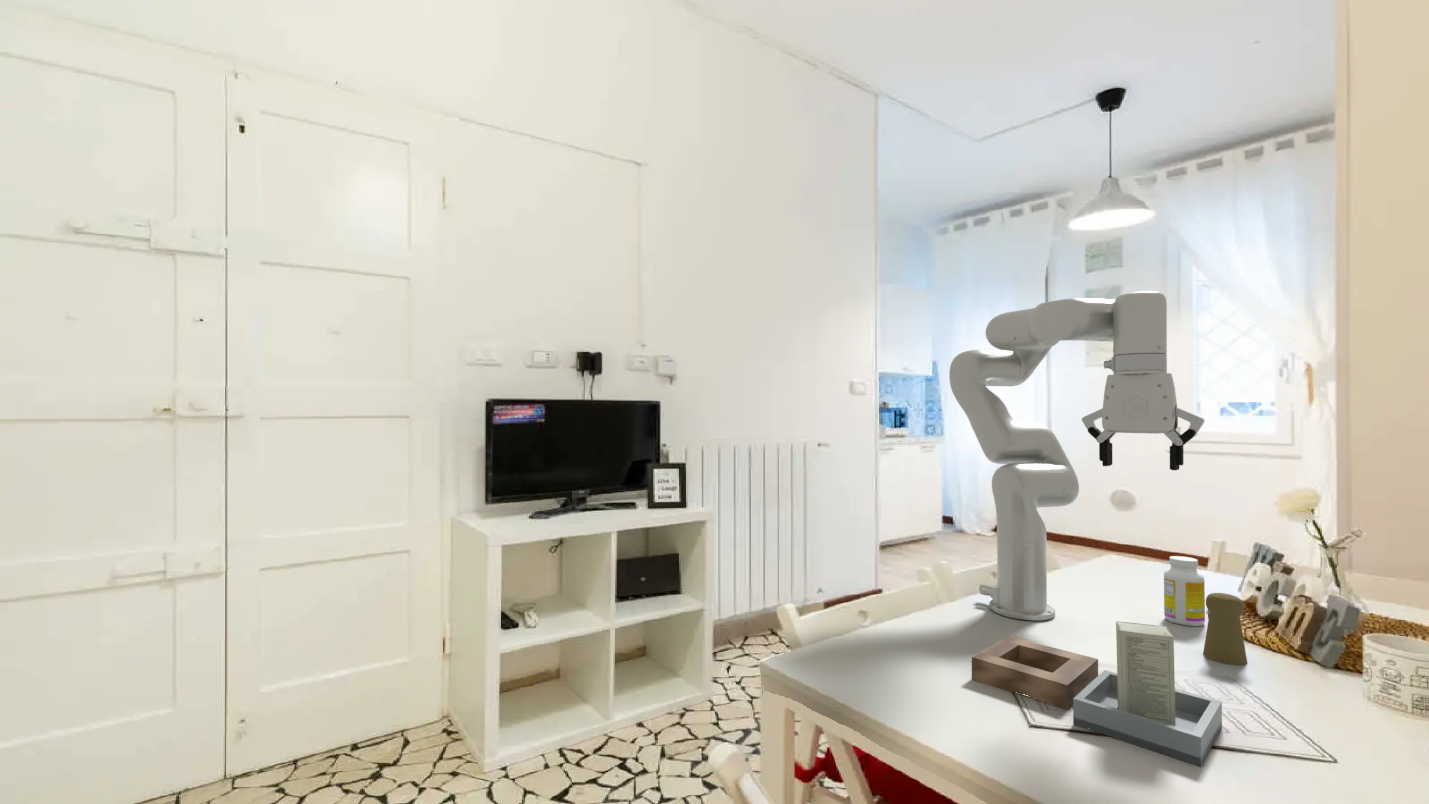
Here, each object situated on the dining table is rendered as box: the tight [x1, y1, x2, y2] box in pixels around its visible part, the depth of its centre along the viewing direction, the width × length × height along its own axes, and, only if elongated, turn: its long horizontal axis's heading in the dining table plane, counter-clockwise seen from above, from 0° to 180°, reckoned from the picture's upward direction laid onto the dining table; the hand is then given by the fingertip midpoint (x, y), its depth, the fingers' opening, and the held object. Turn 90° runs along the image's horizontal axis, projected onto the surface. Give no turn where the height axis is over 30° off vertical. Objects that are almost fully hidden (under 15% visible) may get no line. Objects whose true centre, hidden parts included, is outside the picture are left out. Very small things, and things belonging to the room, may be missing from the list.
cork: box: [1202, 592, 1248, 666], centre depth 110 cm, size 6×6×11 cm
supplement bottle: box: [1163, 555, 1206, 627], centre depth 129 cm, size 7×7×13 cm
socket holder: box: [971, 635, 1099, 711], centre depth 100 cm, size 14×14×4 cm
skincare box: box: [1115, 620, 1176, 726], centre depth 86 cm, size 6×4×12 cm
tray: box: [1072, 669, 1223, 767], centre depth 86 cm, size 14×14×4 cm
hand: (1139, 467), depth 107 cm, fingers open, 9 cm apart
